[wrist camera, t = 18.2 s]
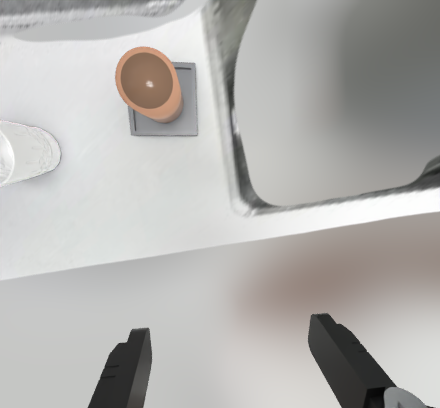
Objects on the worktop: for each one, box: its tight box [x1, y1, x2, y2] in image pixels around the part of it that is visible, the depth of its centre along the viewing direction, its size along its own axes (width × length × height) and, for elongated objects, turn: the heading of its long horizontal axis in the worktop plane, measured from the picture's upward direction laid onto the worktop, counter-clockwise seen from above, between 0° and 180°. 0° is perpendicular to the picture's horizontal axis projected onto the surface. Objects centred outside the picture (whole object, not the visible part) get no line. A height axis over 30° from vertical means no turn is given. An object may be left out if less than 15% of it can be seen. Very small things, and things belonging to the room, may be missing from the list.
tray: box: [128, 62, 197, 135], centre depth 33 cm, size 10×10×2 cm
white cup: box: [0, 120, 61, 187], centre depth 28 cm, size 8×8×10 cm
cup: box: [115, 47, 184, 123], centre depth 27 cm, size 6×6×11 cm
